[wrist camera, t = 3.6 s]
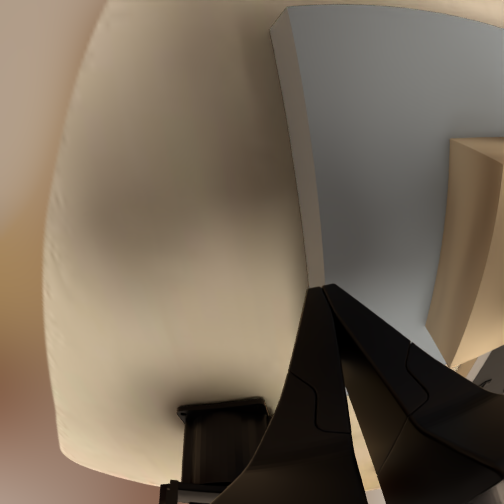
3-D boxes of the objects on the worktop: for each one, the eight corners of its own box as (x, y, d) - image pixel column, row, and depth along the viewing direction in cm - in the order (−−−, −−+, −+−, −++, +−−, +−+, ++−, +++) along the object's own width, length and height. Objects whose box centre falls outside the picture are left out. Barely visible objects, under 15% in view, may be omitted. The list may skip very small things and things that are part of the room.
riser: (313, 343, 18) (328, 399, 14) (269, 29, 9) (286, 6, 6) (497, 289, 17) (527, 327, 13) (524, 49, 8) (579, 60, 5)
